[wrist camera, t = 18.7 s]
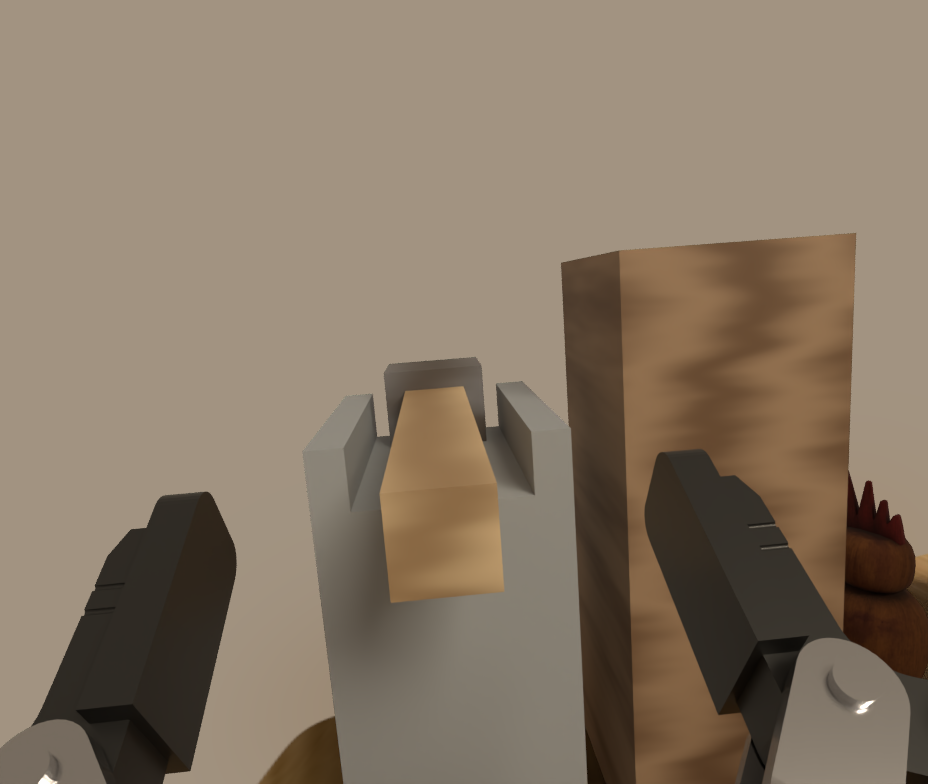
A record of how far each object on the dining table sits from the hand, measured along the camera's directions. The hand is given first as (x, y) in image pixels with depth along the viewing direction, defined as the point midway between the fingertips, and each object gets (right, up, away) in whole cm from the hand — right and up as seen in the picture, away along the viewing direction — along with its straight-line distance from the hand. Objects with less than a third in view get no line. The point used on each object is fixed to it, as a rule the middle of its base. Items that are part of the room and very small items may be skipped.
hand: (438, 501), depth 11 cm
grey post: (+1, -22, +21) cm, 31 cm away
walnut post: (+14, -20, +24) cm, 35 cm away
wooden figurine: (+28, -18, +31) cm, 46 cm away
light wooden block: (-1, -2, +15) cm, 15 cm away
